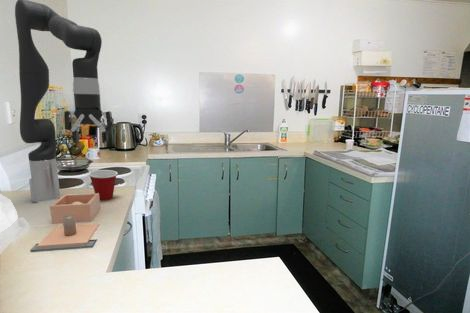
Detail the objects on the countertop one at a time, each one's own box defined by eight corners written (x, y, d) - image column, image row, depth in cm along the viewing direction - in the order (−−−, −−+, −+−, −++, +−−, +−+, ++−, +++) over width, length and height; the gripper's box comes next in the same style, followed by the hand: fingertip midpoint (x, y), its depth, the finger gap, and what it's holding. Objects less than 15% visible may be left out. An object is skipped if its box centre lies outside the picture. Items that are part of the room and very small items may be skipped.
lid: (37, 248, 83) (34, 227, 82) (56, 228, 96) (53, 210, 94) (87, 244, 85) (85, 224, 84) (99, 226, 98) (97, 207, 97)
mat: (30, 251, 82) (30, 249, 82) (51, 230, 96) (51, 228, 96) (92, 247, 85) (92, 245, 85) (104, 226, 99) (104, 225, 98)
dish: (52, 226, 99) (49, 206, 97) (65, 212, 110) (64, 194, 109) (91, 224, 101) (89, 204, 99) (100, 211, 112) (99, 193, 111)
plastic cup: (109, 206, 117) (107, 176, 115) (85, 204, 119) (82, 174, 117) (124, 197, 128) (122, 170, 126) (102, 195, 130) (99, 168, 128)
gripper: (113, 93, 101) (115, 141, 104) (67, 92, 98) (72, 141, 102) (107, 93, 93) (110, 144, 97) (58, 92, 91) (62, 144, 94)
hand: (90, 142), depth 99 cm, fingers open, 8 cm apart
